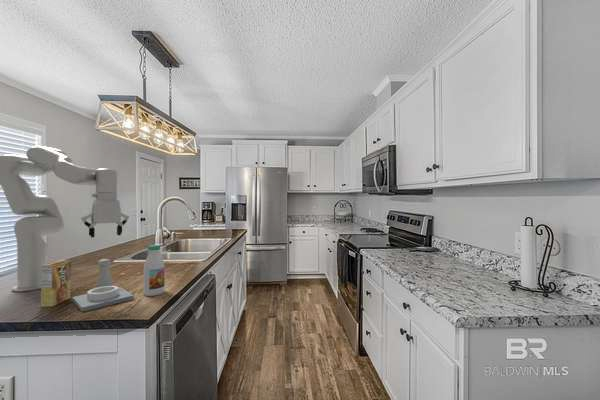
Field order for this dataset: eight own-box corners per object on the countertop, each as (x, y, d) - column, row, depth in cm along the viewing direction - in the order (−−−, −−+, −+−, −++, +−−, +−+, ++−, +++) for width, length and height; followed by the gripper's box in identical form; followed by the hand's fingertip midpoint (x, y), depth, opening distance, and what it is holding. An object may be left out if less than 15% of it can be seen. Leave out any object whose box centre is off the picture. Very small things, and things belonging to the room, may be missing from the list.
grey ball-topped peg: (103, 292, 114) (103, 261, 114) (92, 291, 115) (92, 260, 115) (115, 287, 120) (115, 258, 120) (104, 286, 121) (105, 257, 121)
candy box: (59, 298, 106) (59, 259, 106) (71, 298, 107) (71, 259, 107) (40, 307, 97) (40, 264, 98) (53, 306, 98) (53, 264, 98)
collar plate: (72, 300, 104) (72, 290, 104) (120, 290, 116) (120, 281, 116) (81, 311, 93) (81, 300, 93) (133, 299, 105) (133, 289, 105)
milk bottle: (140, 297, 107) (141, 247, 108) (146, 291, 115) (146, 244, 115) (162, 295, 109) (162, 246, 110) (166, 289, 117) (166, 243, 117)
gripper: (83, 196, 109) (83, 238, 109) (131, 197, 122) (131, 235, 122) (79, 196, 114) (78, 237, 113) (126, 197, 127) (125, 233, 127)
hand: (106, 236), depth 118 cm, fingers open, 9 cm apart
